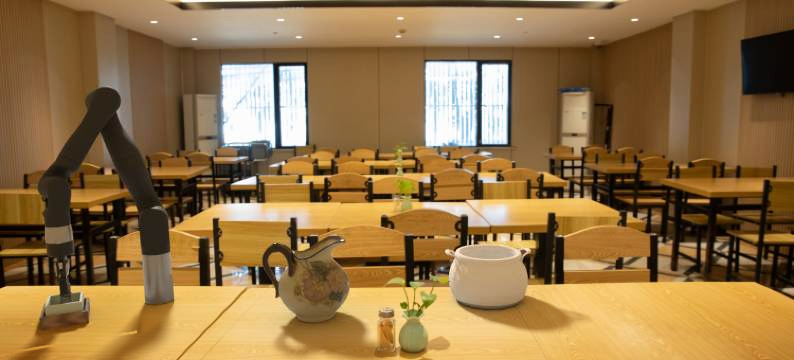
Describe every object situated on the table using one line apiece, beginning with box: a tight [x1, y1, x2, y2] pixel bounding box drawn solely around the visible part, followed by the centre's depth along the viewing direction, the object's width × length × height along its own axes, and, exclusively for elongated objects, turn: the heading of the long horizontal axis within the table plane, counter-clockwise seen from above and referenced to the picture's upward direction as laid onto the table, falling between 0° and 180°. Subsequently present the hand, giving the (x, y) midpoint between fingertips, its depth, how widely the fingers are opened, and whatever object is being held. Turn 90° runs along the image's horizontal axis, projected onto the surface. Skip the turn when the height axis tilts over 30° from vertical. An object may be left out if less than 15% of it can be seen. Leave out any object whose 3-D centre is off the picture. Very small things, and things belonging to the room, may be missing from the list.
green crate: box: [45, 290, 85, 316], centre depth 191 cm, size 10×12×6 cm
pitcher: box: [261, 234, 351, 323], centre depth 190 cm, size 22×24×25 cm
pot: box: [444, 243, 532, 310], centre depth 205 cm, size 29×26×17 cm
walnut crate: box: [39, 296, 91, 331], centre depth 191 cm, size 13×15×4 cm
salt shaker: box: [58, 282, 72, 304], centre depth 190 cm, size 6×6×12 cm
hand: (64, 290), depth 190 cm, fingers open, 8 cm apart
